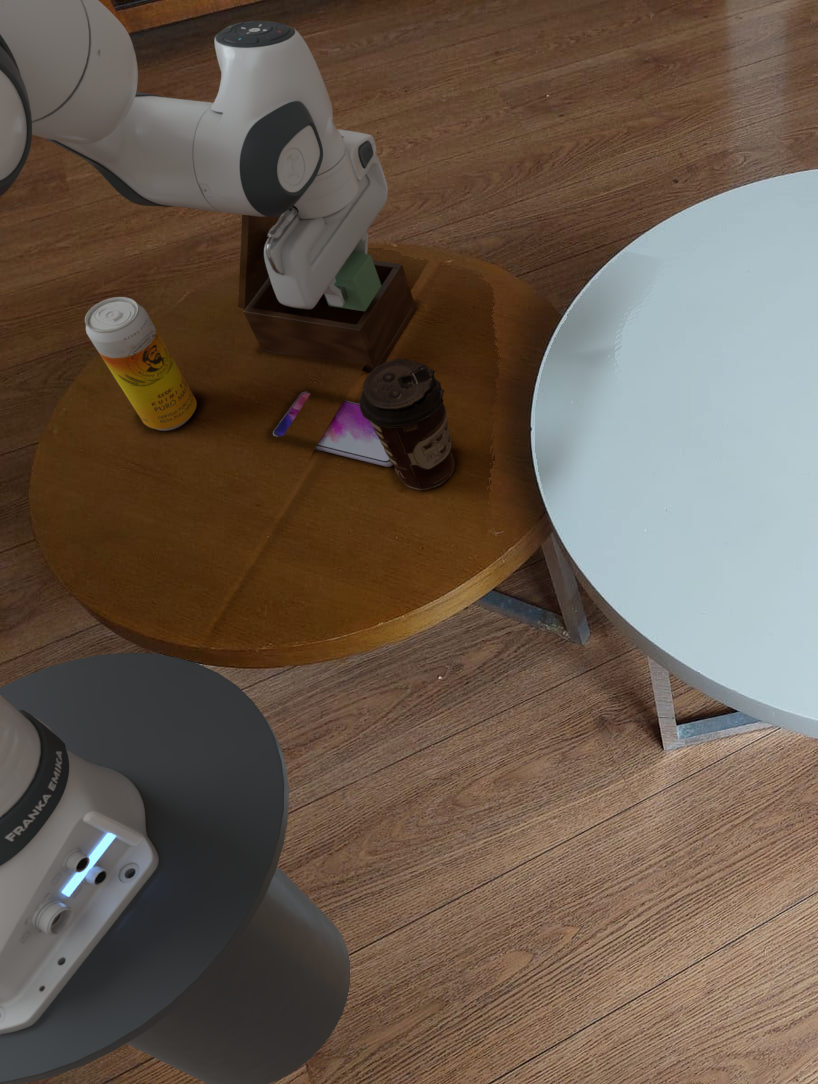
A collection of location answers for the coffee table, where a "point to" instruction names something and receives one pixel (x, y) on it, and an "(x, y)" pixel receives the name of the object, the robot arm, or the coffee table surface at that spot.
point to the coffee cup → (410, 421)
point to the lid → (253, 256)
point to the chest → (335, 324)
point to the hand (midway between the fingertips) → (351, 284)
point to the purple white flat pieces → (343, 433)
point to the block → (358, 281)
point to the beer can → (140, 362)
